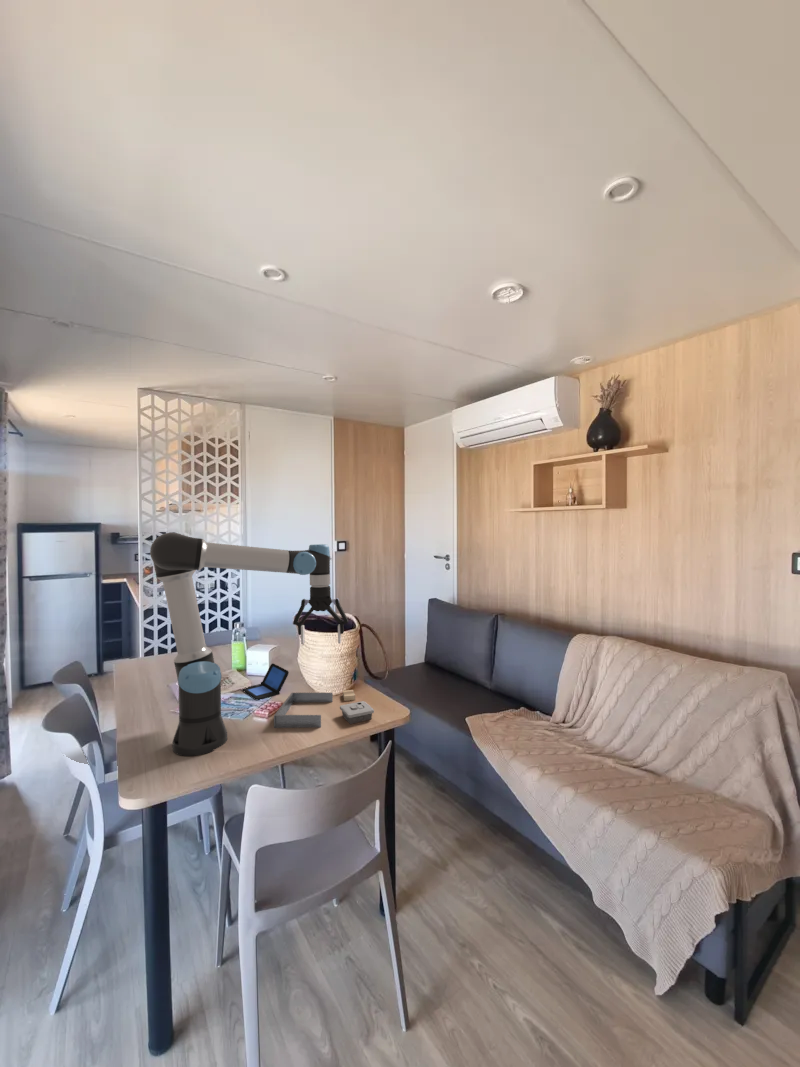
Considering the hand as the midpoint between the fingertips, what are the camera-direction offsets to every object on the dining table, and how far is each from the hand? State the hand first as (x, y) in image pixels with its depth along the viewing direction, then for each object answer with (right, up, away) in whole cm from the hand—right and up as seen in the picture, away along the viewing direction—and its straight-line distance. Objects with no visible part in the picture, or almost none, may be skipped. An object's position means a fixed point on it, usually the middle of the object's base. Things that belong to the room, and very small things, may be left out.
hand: (321, 643), depth 168 cm
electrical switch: (+12, -23, -11) cm, 28 cm away
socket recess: (-3, -22, -11) cm, 25 cm away
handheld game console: (-24, -23, +12) cm, 36 cm away
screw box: (+10, -23, +3) cm, 25 cm away
